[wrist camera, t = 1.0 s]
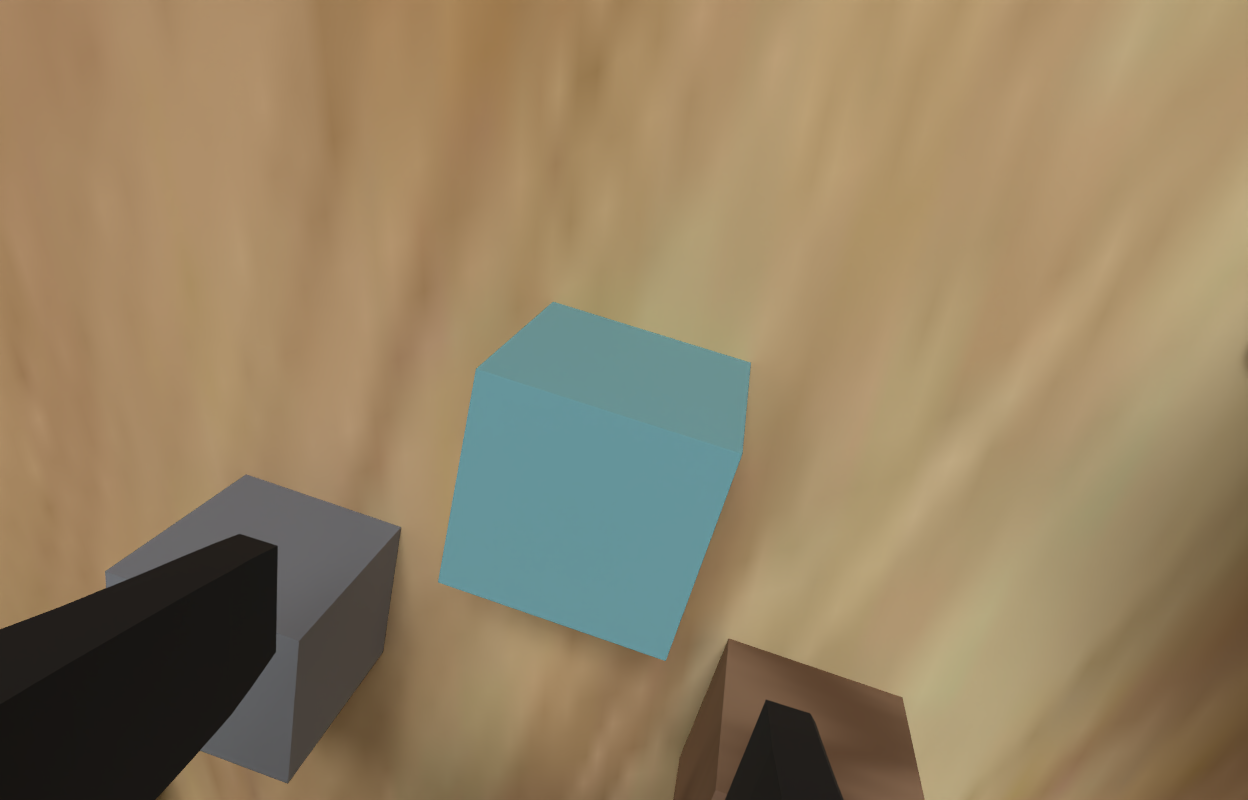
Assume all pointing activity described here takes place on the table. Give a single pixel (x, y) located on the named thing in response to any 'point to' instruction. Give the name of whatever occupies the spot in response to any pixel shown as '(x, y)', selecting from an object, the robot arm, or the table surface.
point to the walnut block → (843, 711)
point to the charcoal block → (293, 612)
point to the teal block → (595, 475)
